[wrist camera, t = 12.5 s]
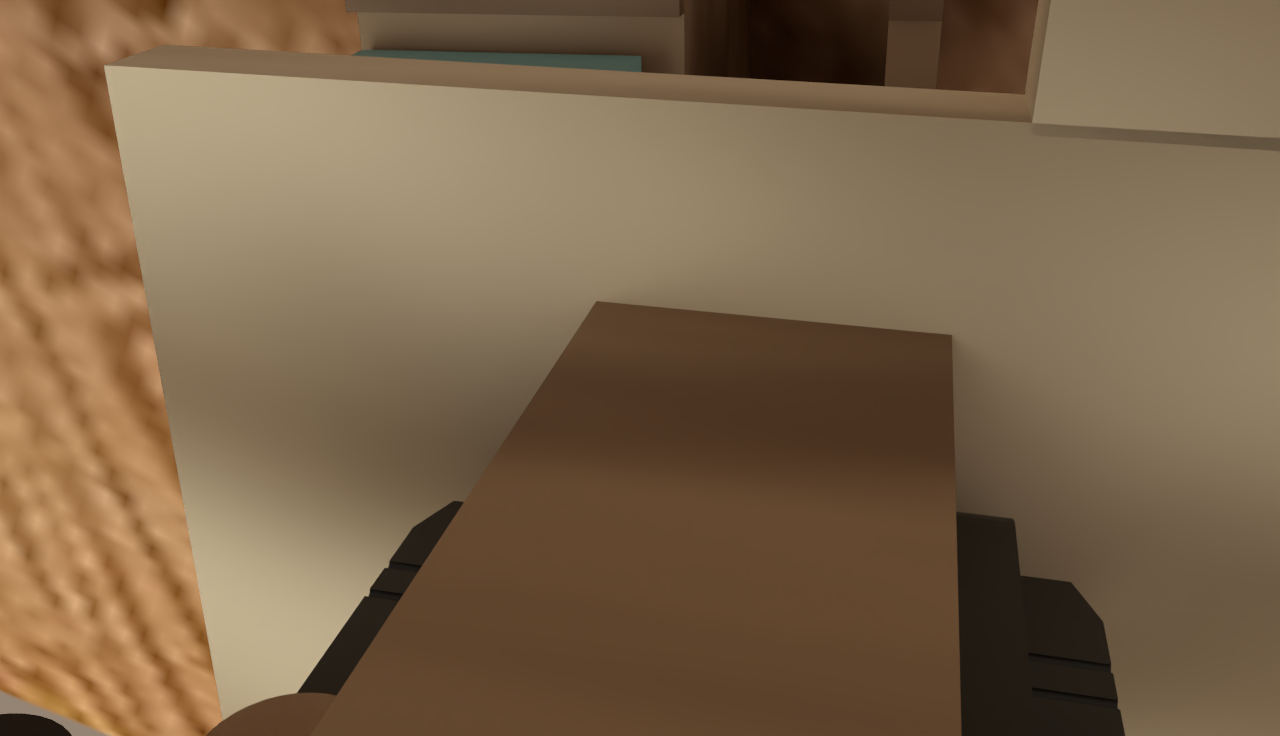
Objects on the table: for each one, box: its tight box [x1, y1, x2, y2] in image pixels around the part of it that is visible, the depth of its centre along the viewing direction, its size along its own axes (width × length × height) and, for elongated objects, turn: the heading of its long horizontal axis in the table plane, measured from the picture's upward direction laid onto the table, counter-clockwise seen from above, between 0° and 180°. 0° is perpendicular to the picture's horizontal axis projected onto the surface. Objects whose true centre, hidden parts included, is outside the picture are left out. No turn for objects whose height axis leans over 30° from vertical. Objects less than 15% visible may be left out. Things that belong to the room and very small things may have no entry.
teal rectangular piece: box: [351, 50, 642, 72], centre depth 24 cm, size 2×6×3 cm, turn 91°
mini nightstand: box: [345, 0, 944, 89], centre depth 31 cm, size 13×12×11 cm
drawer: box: [104, 0, 1280, 736], centre depth 9 cm, size 14×13×8 cm
